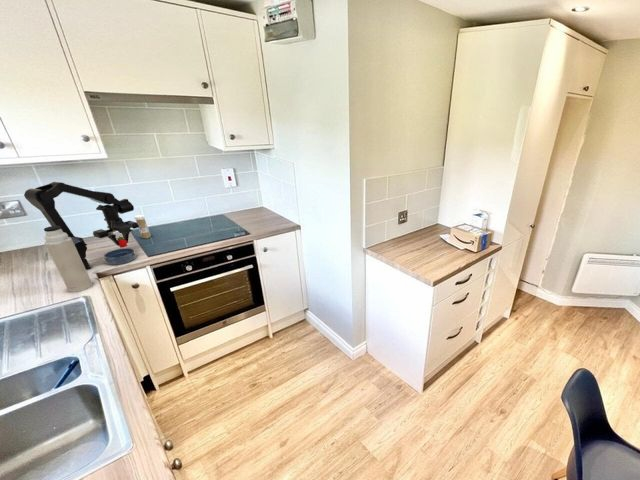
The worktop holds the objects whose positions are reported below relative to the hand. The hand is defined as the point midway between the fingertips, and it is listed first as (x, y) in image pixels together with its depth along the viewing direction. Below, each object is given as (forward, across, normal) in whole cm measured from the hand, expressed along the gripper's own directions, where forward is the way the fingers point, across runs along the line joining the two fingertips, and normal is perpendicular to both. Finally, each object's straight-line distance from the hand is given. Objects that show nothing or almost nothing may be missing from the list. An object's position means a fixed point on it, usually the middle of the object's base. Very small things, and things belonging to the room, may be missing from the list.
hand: (122, 244), depth 172 cm
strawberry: (+1, 0, 0) cm, 1 cm away
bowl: (+4, -7, -9) cm, 12 cm away
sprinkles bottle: (+5, +18, +11) cm, 22 cm away
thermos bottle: (+5, -31, -22) cm, 38 cm away
